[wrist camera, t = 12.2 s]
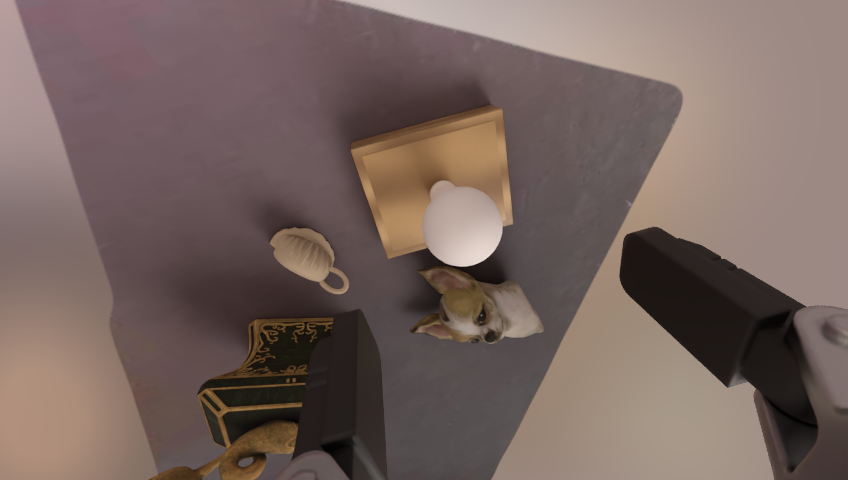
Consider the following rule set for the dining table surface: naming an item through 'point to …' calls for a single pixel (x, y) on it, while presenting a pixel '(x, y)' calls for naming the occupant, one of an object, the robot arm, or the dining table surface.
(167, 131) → the dining table surface
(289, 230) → the decorative ornament
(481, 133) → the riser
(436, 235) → the lightbulb
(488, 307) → the ceramic sculpture
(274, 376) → the decorative box
